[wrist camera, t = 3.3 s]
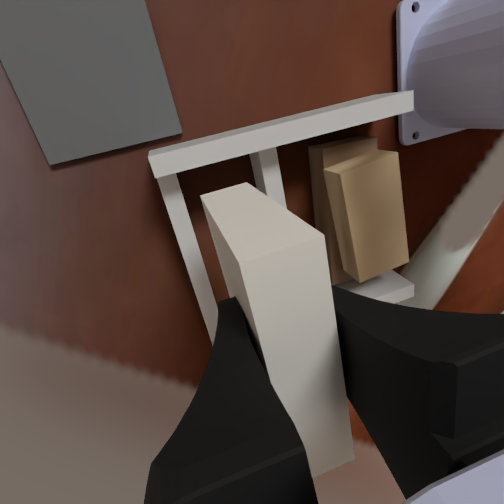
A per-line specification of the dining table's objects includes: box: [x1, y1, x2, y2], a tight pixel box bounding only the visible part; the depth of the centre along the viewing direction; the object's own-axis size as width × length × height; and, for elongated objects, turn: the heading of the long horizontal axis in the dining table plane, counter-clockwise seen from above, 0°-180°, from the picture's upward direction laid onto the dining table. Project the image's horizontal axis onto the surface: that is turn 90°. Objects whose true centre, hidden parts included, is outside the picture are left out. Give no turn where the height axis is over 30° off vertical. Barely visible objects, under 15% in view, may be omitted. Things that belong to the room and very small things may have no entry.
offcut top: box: [323, 149, 409, 283], centre depth 20 cm, size 4×7×2 cm, turn 17°
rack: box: [148, 90, 414, 346], centre depth 20 cm, size 14×13×4 cm
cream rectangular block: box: [200, 182, 355, 478], centre depth 12 cm, size 2×8×7 cm, turn 13°
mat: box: [0, 0, 182, 165], centre depth 16 cm, size 7×10×1 cm
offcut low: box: [308, 136, 377, 285], centre depth 22 cm, size 4×9×2 cm, turn 10°
